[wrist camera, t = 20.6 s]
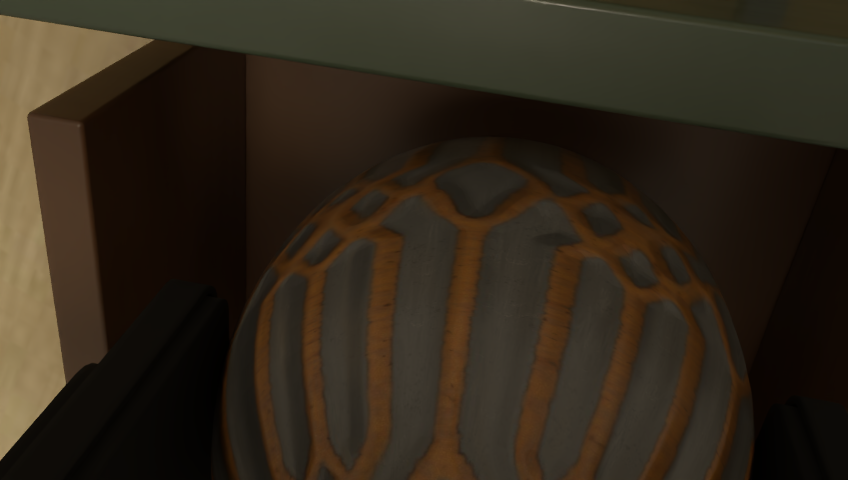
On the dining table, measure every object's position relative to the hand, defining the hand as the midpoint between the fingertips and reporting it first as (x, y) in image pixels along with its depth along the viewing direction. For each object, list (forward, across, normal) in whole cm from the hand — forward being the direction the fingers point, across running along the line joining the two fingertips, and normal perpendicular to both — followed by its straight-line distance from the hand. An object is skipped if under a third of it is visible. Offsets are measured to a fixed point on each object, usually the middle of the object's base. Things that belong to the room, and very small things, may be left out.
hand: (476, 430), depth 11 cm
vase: (+4, 0, 0) cm, 4 cm away
